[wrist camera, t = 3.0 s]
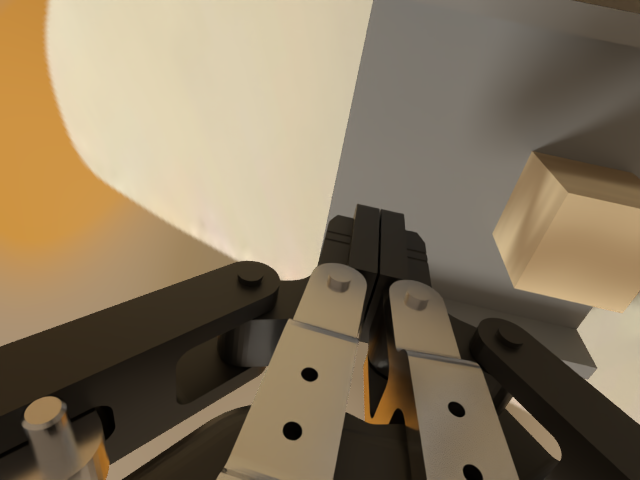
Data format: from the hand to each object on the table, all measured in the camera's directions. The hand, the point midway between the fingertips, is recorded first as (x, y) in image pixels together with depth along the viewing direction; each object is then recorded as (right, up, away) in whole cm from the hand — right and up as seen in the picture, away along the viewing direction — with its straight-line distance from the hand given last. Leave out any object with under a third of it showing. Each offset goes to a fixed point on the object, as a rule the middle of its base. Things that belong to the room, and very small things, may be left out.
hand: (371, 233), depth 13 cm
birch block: (+8, +1, +4) cm, 10 cm away
